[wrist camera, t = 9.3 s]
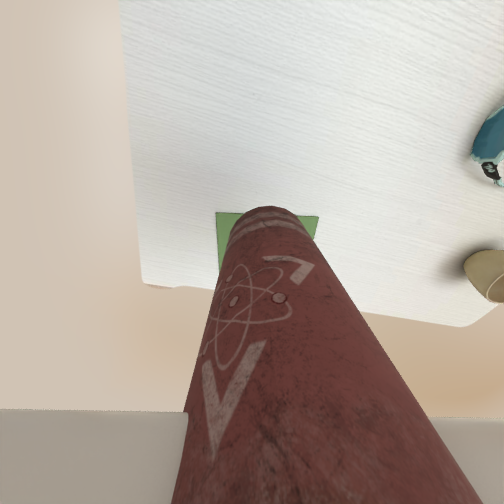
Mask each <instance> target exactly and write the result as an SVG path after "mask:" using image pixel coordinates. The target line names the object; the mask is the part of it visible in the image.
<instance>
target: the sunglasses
mask: <svg viewBox="0 0 504 504" xmlns="http://www.w3.org/2000/svg"><path fill="white" fill-rule="evenodd" d="M470 155H471V157H472V158H473V160H474V161H477V162H478V163H482V165H481V166H482V169H483V171H484V173H485V174H486V176H487V177H489V178H492V179H493V180H494V183H495V184H496V185H498V186H501V187H504V183H502V181H501V177H500V176H499V173H498V170H497V165H498V163H499V162H500V161H502V160H503V159H504V105H502V106H501V107H500V108H499V109H498V110H497V111H495V112H494V113H493V114H492V115H491V116H490V117H489V118H487V119H486V121H485V123H484V124H483V126H482V128H481V130H480V132H479V134H478V135H477V137H476V139H475V142H474V145H473V149H472V153H471V154H470Z"/></svg>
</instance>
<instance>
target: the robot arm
mask: <svg viewBox="0 0 504 504" xmlns="http://www.w3.org/2000/svg"><path fill="white" fill-rule="evenodd" d="M428 419H429V420H430V422H431V423H432V425H433V426H434V428H435V430H436V431H437V433H438V434H439V436H440V437H441V439H442V440H443V442H444V443H445V445H446V447H447V448H448V450H449V451H450V453H451V454H452V456H453V457H454V459H455V460H456V462H457V464H458V465H459V467H460V468H461V470H462V471H463V473H464V474H465V476H466V477H467V479H468V481H469V482H470V484H471V485H472V487H473V488H474V490H475V491H476V493H477V494H478V496H479V498H480V499H481V501H482V502H483V504H504V418H461V417H428ZM187 425H188V413H187V412H140V411H87V410H85V411H84V410H32V409H0V504H171V501H172V497H173V492H174V488H175V484H176V479H177V475H178V471H179V467H180V462H181V458H182V452H183V447H184V441H185V436H186V431H187Z"/></svg>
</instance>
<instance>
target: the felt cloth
mask: <svg viewBox="0 0 504 504" xmlns="http://www.w3.org/2000/svg"><path fill="white" fill-rule="evenodd" d="M242 215H243V214H237V213H216V224H217V239H218V255H219V270H220V269H221V265H222V261H223V258H224V254H225V250H226V246H227V242H228V238H229V235H230V231H231V229H232V227H233V226H234V224H235V222H236V220H238V219H239V218H240V217H241V216H242ZM297 218H298V219H299V220H300V221H301V223H302V224H303V225H304V227H305V229H306V230H307V232H308V233H309V235H310V236H311V238H312V239H314V235H315V231H316V227H317V223H318V219H319V217H313V216H297Z"/></svg>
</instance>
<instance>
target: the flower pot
mask: <svg viewBox="0 0 504 504" xmlns="http://www.w3.org/2000/svg"><path fill="white" fill-rule="evenodd" d="M463 267H464V270H465V273H466V275H467V277H468V279H469V280H470V282H471V283H472V285H473V286H474V287H475V288H476V289H477V290H478V291H479V292H480V293H481V294H482V295H483V296H484V297H485V298H486V299H487V300H489V301H490V302H492V303H497V304H504V250H483V251H479V252H476V253H474V254H472V255H471V256H470V257H468V258H467V259H466V261H465V262H464V264H463Z"/></svg>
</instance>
